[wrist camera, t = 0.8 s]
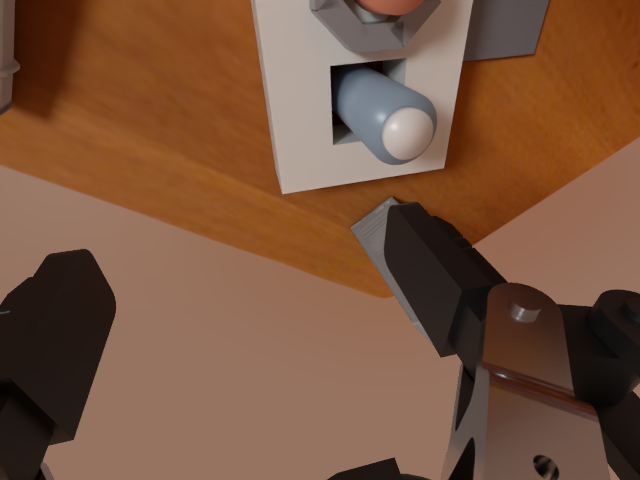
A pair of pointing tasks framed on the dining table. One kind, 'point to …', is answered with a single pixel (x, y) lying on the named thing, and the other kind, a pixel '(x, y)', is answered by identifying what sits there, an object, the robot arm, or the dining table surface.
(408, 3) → the brown egg
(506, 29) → the mat
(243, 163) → the dining table surface
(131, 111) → the dining table surface
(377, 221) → the skincare box
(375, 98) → the cartridge
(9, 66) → the grey elongated piece
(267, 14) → the housing
